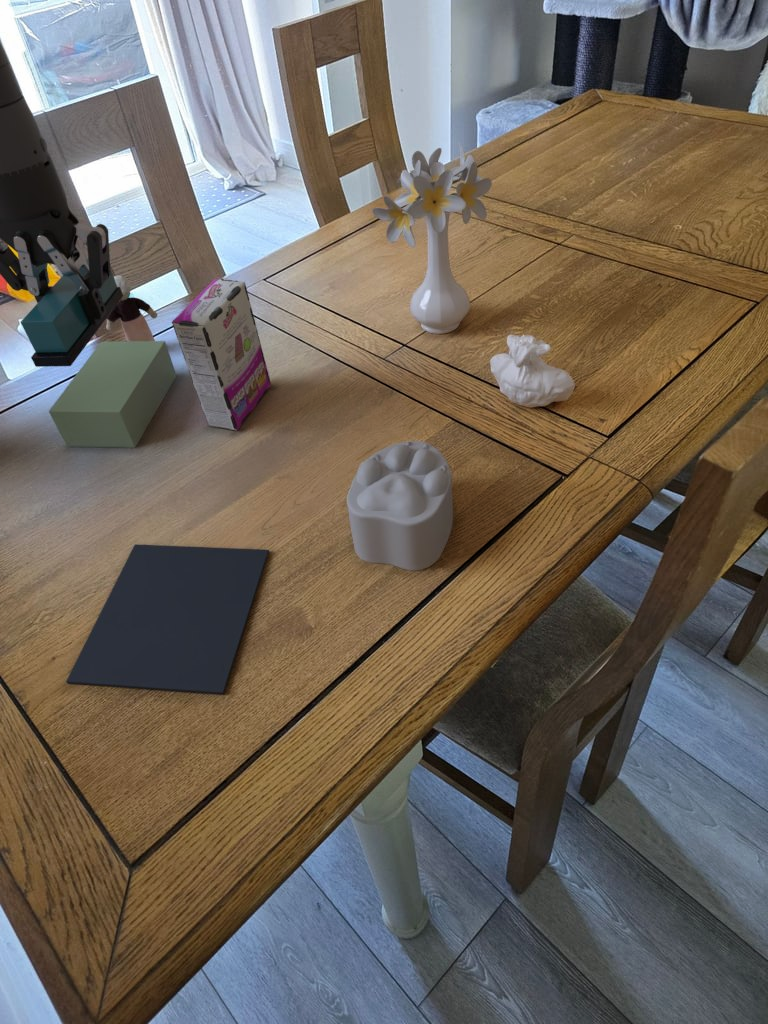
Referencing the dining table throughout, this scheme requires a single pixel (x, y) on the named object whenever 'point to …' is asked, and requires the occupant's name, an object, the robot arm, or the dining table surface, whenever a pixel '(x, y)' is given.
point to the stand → (114, 394)
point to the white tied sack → (530, 374)
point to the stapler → (64, 322)
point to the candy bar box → (223, 353)
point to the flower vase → (436, 232)
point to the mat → (173, 620)
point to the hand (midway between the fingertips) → (78, 320)
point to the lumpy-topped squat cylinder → (402, 506)
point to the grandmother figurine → (131, 314)
